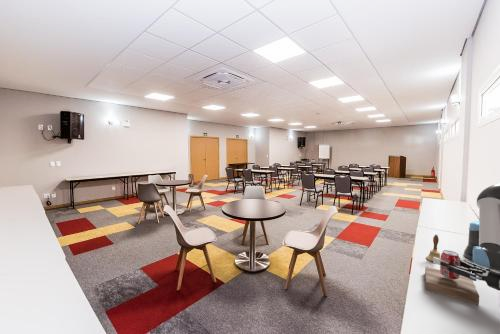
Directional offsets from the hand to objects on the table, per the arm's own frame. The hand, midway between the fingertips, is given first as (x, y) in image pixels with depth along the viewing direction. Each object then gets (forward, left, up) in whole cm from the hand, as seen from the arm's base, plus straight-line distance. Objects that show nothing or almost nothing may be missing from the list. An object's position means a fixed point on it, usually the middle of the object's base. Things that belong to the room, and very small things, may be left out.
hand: (438, 258), depth 113 cm
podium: (+2, +4, -12) cm, 13 cm away
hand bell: (-30, 0, -13) cm, 32 cm away
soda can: (+3, +4, -7) cm, 9 cm away
